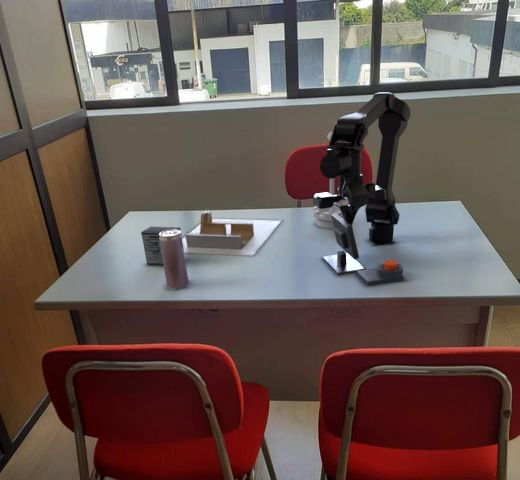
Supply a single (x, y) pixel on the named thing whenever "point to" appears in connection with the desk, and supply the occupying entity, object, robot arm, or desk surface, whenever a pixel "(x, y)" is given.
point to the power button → (390, 265)
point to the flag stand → (325, 214)
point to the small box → (154, 244)
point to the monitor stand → (343, 263)
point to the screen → (345, 236)
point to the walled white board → (228, 235)
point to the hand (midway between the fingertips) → (349, 228)
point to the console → (380, 275)
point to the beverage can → (173, 258)
